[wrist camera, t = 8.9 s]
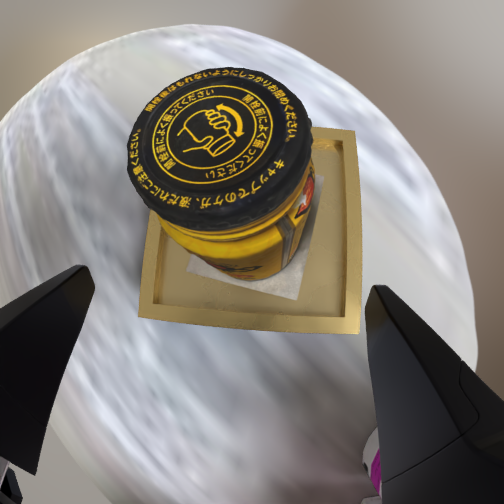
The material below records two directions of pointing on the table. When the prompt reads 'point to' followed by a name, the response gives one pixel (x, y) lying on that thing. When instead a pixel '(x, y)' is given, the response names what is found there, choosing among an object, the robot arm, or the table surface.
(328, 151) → the gold square tray
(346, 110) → the table surface
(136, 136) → the condiment
